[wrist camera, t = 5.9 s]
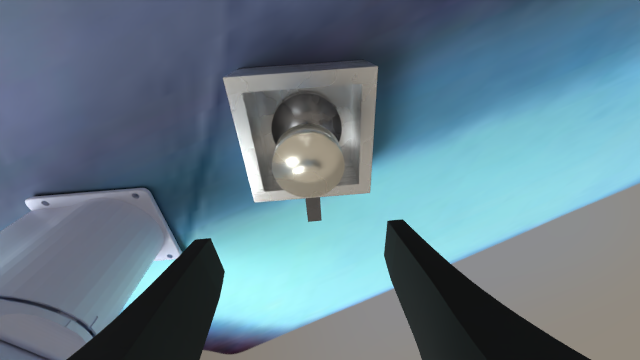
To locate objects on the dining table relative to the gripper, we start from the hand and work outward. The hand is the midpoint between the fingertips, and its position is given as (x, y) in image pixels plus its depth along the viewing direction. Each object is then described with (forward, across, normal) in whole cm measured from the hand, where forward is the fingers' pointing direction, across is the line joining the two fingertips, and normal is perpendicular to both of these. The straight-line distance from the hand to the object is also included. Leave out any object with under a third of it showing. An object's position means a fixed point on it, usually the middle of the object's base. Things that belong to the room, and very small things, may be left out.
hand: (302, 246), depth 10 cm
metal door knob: (+10, 0, -2) cm, 10 cm away
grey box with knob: (+10, 0, -1) cm, 10 cm away
